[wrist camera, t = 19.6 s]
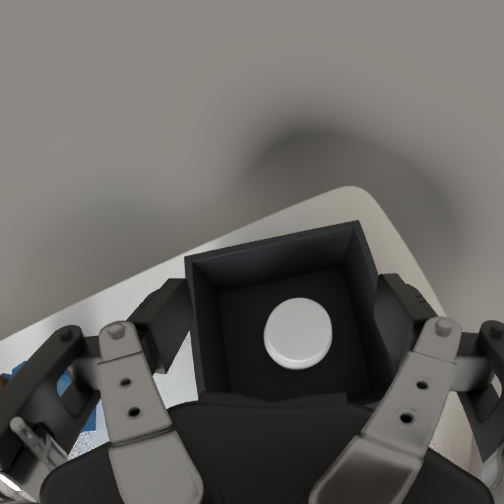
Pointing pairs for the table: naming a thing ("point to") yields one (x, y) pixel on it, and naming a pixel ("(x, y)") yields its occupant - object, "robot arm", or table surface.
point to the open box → (274, 293)
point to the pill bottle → (298, 334)
